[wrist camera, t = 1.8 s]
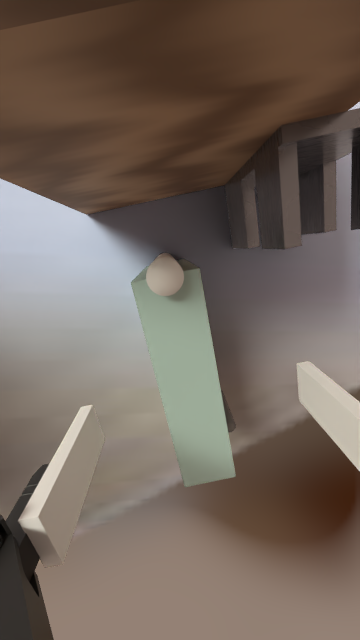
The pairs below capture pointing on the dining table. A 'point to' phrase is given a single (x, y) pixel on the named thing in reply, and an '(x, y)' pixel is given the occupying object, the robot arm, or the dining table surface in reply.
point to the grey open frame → (294, 183)
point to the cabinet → (162, 90)
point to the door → (185, 367)
